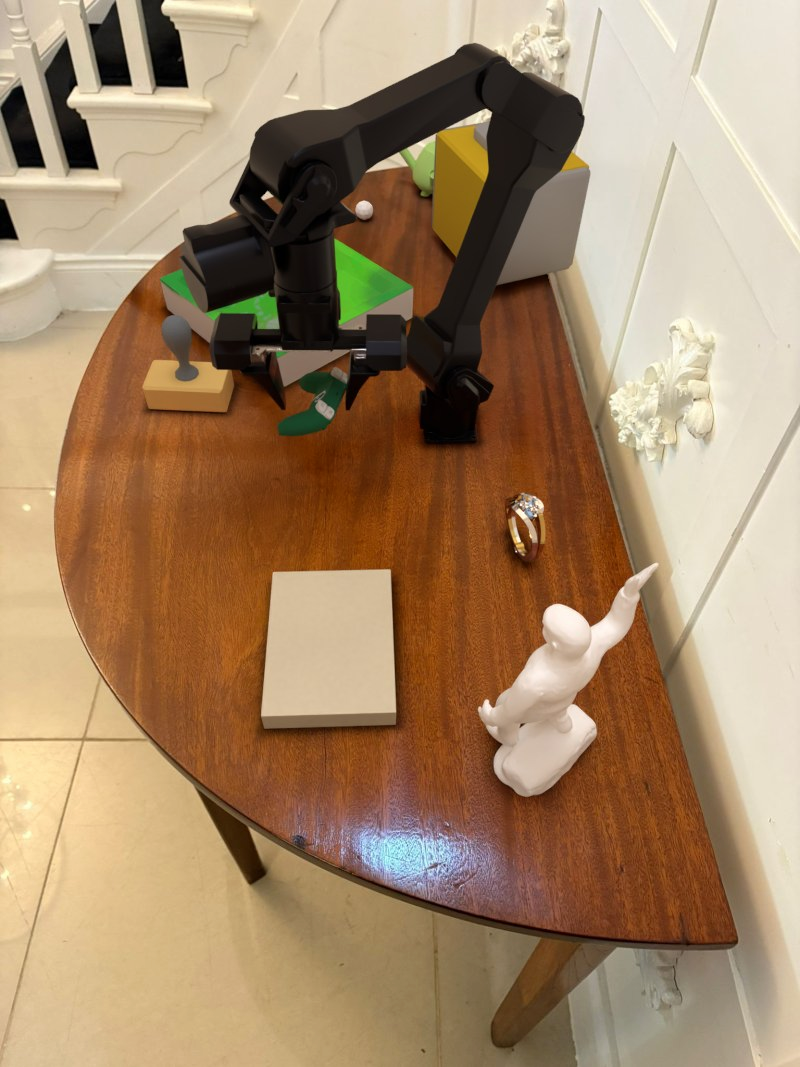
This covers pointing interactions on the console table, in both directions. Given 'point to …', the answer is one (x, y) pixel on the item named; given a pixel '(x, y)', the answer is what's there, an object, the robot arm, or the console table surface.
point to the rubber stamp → (185, 376)
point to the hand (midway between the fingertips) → (316, 407)
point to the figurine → (555, 694)
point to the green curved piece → (317, 403)
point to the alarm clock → (547, 220)
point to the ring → (526, 514)
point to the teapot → (422, 167)
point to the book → (330, 650)
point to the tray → (359, 296)
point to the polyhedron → (364, 210)
